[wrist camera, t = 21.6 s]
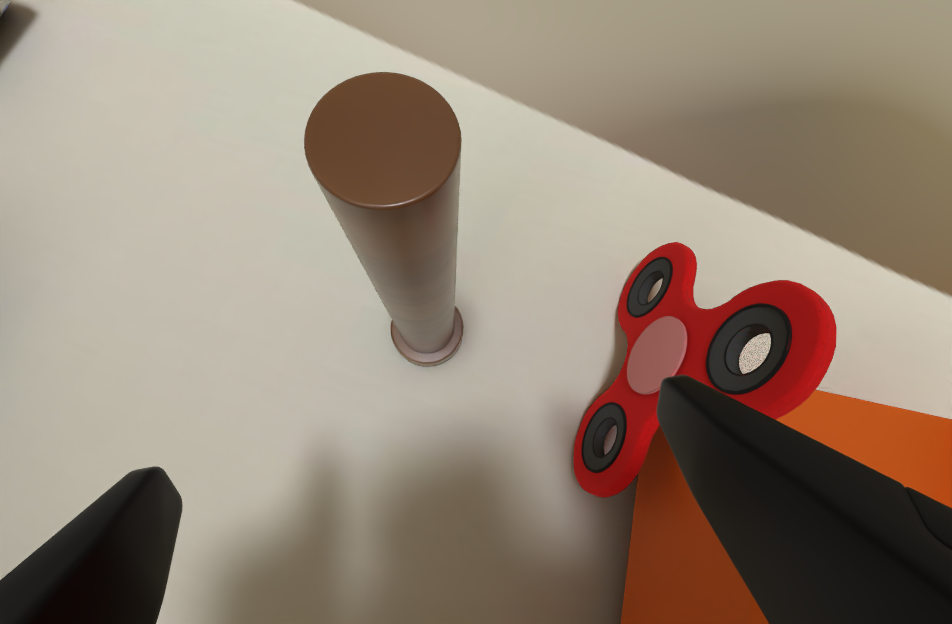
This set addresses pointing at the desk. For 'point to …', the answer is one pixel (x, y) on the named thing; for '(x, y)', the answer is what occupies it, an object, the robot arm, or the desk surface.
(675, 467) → the tape dispenser
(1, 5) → the pill bottle
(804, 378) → the toy
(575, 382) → the desk surface
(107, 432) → the desk surface
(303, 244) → the desk surface
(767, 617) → the robot arm
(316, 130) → the brown rod with base
